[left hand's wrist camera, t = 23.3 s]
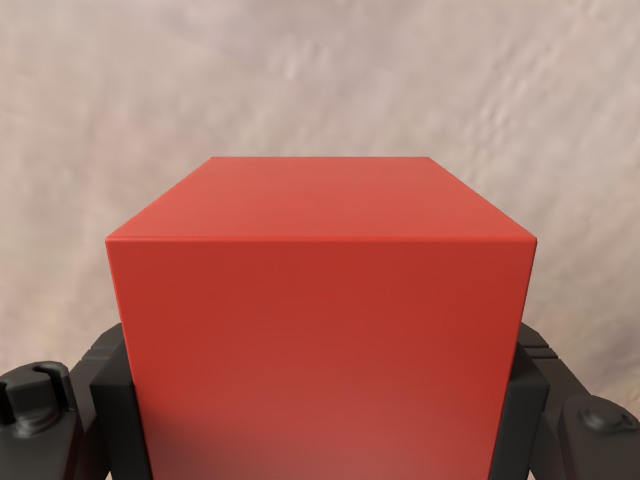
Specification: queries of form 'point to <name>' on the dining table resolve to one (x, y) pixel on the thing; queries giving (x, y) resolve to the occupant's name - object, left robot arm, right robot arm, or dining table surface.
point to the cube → (320, 320)
